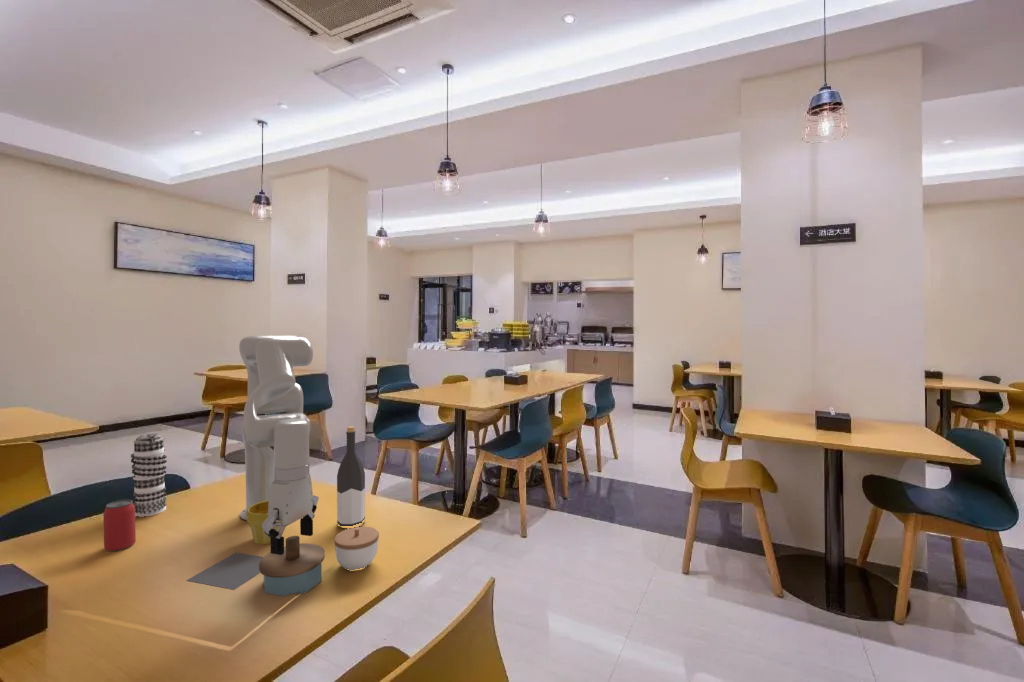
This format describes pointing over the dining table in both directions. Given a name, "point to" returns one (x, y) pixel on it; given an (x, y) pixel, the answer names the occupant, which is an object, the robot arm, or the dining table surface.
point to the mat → (230, 571)
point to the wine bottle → (350, 485)
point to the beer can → (119, 525)
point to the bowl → (293, 582)
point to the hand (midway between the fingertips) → (292, 543)
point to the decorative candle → (149, 475)
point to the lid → (292, 559)
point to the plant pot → (259, 521)
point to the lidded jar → (356, 547)
